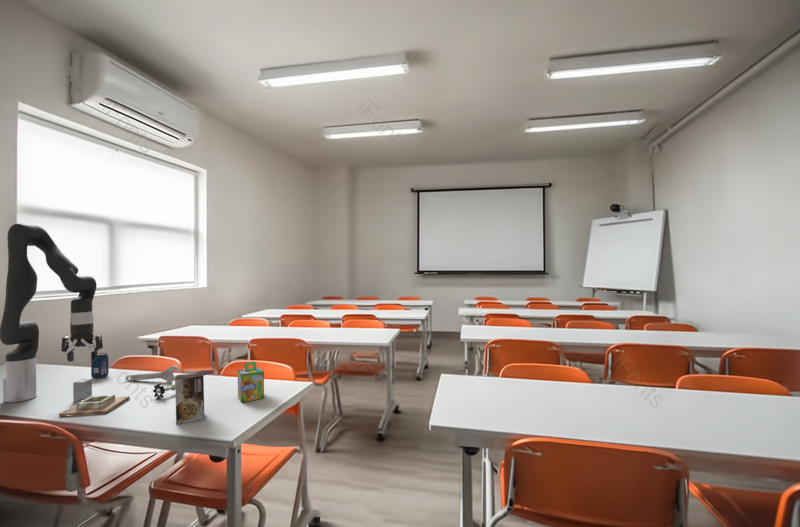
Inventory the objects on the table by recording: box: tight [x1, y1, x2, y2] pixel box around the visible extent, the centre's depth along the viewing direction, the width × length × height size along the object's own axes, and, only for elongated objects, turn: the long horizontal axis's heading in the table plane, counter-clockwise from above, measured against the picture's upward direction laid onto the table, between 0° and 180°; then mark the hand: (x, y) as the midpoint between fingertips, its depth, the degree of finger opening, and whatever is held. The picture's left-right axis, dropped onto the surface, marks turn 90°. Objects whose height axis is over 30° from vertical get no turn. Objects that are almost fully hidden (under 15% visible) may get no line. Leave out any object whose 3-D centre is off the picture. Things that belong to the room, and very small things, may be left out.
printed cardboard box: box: [174, 371, 205, 425], centre depth 137 cm, size 9×6×16 cm
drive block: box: [72, 378, 93, 402], centre depth 159 cm, size 4×4×8 cm
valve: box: [152, 382, 176, 400], centre depth 163 cm, size 7×7×12 cm
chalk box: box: [237, 361, 265, 403], centre depth 158 cm, size 9×9×15 cm
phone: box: [198, 370, 213, 376], centre depth 192 cm, size 7×1×15 cm
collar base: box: [58, 394, 130, 417], centre depth 149 cm, size 16×16×3 cm
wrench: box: [125, 365, 181, 384], centre depth 183 cm, size 8×2×30 cm
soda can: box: [90, 352, 110, 380], centre depth 191 cm, size 7×7×12 cm
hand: (82, 360), depth 159 cm, fingers open, 8 cm apart
